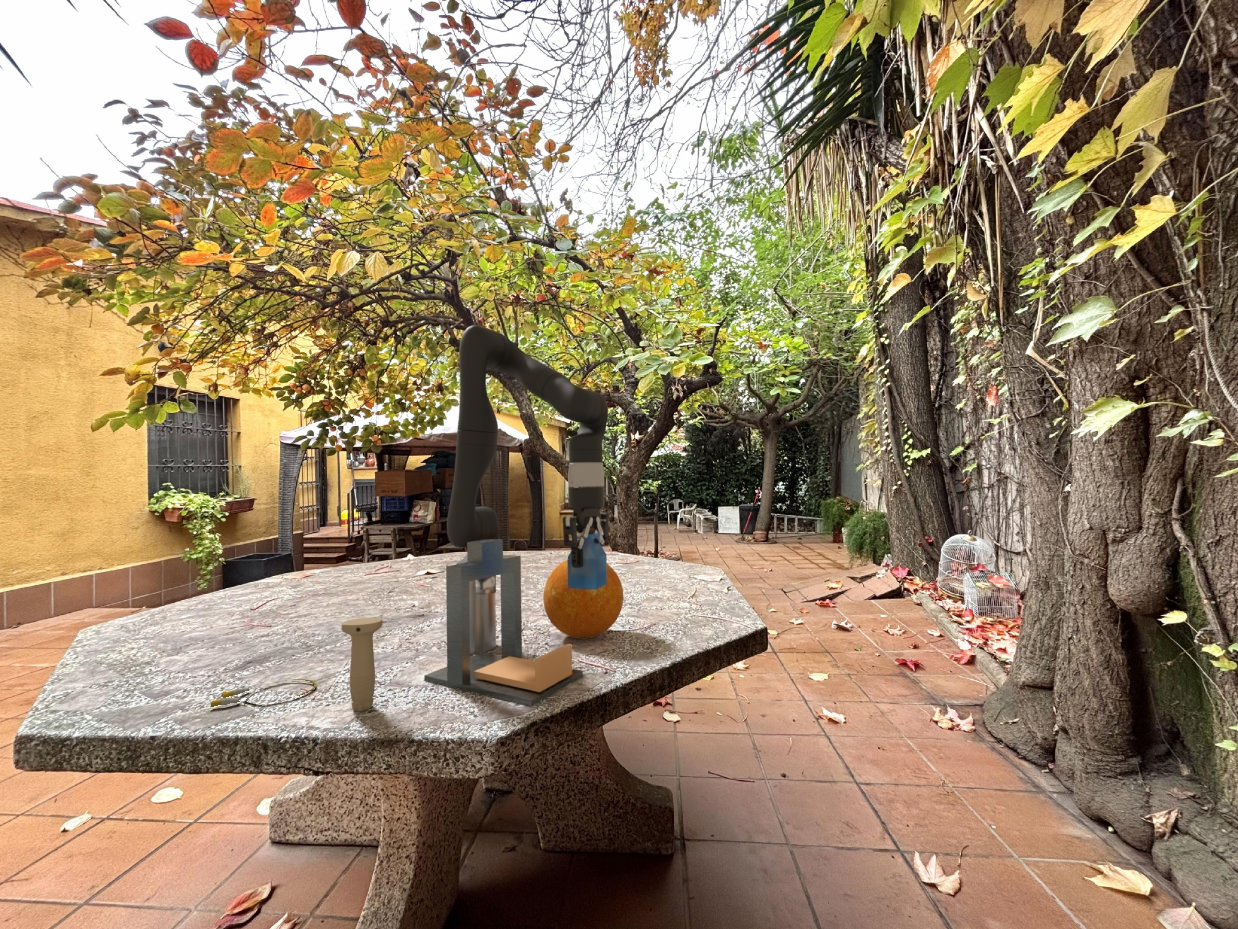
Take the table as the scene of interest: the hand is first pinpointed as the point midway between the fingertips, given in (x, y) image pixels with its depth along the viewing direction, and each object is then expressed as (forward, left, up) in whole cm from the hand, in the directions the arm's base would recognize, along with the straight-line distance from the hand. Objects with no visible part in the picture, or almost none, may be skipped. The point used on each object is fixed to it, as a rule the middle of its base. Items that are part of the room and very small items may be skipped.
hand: (587, 564), depth 110 cm
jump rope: (-47, -38, -22) cm, 64 cm away
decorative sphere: (-14, +19, -22) cm, 32 cm away
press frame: (-12, -12, -21) cm, 28 cm away
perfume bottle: (0, 0, -5) cm, 5 cm away
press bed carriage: (-7, -12, -20) cm, 25 cm away
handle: (-25, -34, -22) cm, 47 cm away
